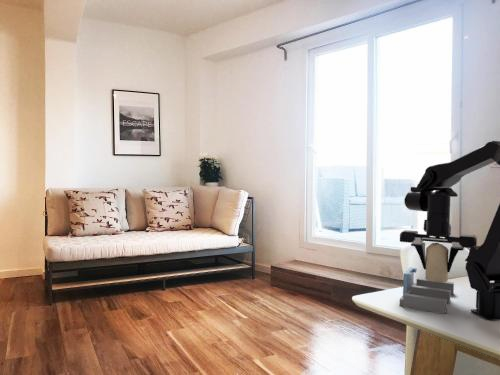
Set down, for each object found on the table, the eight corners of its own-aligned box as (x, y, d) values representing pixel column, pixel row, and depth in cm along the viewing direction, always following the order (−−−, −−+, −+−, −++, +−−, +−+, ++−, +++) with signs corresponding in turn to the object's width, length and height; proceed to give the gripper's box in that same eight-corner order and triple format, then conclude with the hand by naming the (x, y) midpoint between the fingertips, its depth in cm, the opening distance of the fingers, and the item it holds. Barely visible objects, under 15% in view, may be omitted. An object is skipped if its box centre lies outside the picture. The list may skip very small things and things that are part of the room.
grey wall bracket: (445, 314, 100) (446, 288, 100) (394, 305, 106) (395, 281, 106) (453, 293, 119) (454, 271, 119) (410, 287, 125) (410, 266, 125)
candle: (451, 283, 113) (452, 245, 113) (430, 282, 113) (431, 244, 113) (442, 278, 118) (443, 242, 118) (422, 277, 119) (423, 241, 118)
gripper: (478, 213, 118) (477, 269, 118) (407, 209, 127) (406, 262, 127) (477, 215, 108) (475, 277, 108) (400, 211, 117) (398, 268, 118)
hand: (436, 270), depth 116 cm, fingers closed on candle, 5 cm apart
